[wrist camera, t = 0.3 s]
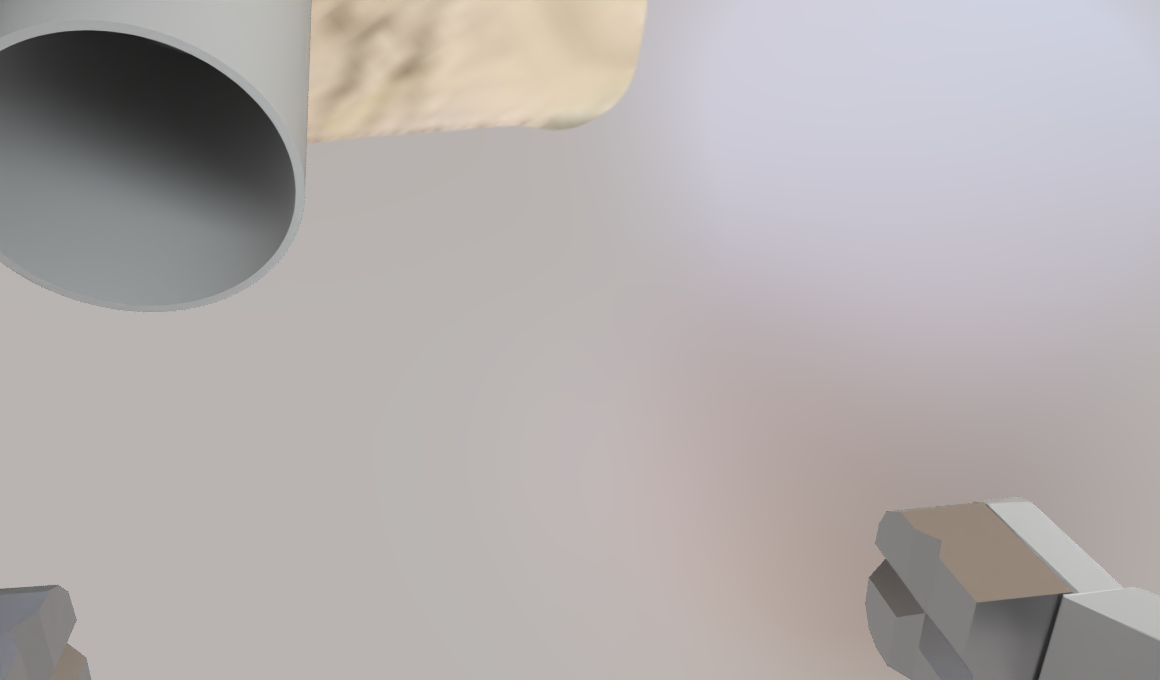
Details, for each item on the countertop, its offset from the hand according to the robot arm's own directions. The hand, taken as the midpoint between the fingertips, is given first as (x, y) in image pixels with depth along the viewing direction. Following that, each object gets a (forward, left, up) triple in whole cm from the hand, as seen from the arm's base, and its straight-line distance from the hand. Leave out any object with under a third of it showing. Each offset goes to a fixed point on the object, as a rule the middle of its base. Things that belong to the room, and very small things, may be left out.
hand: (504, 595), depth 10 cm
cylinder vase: (+16, -1, -52) cm, 54 cm away
